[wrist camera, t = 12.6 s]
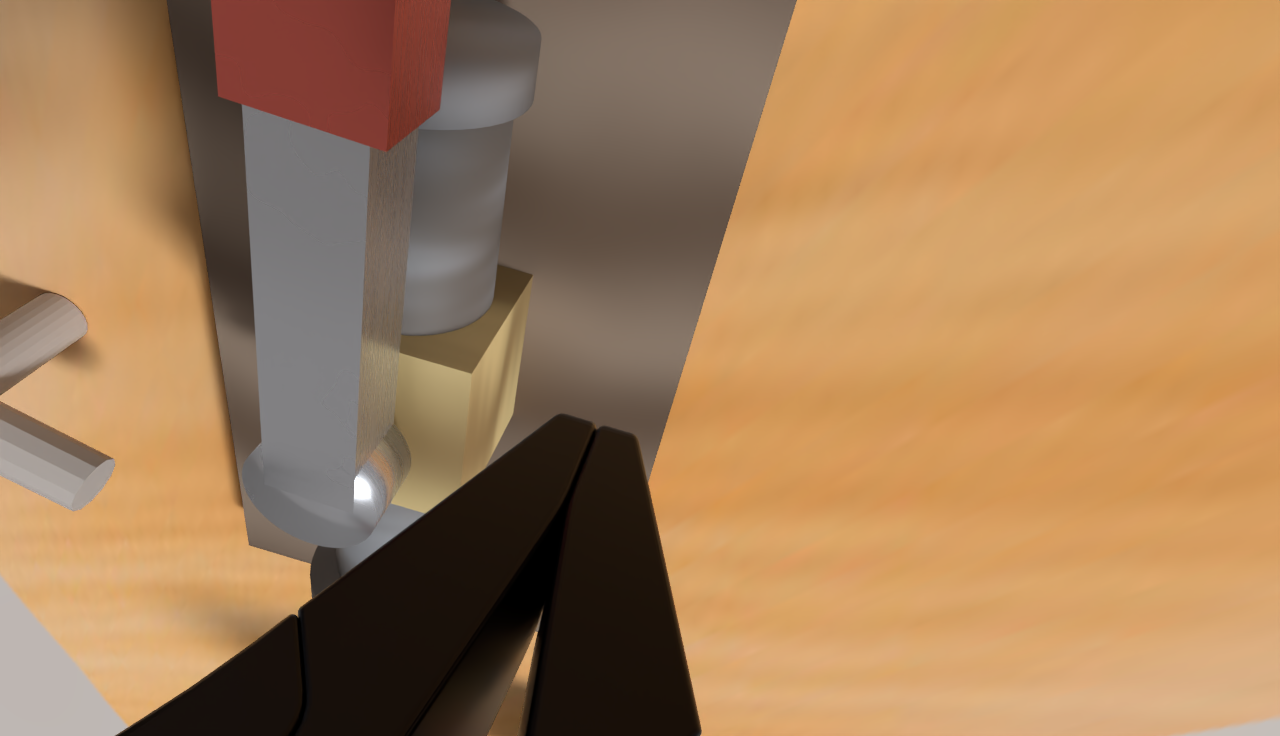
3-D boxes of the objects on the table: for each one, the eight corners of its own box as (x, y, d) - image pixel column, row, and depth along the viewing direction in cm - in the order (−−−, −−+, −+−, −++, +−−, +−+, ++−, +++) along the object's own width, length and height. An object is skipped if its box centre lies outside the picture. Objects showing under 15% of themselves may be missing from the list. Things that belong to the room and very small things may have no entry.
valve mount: (183, -208, 17) (-97, -211, 12) (806, -39, 17) (797, 34, 12) (271, 517, 32) (161, 657, 26) (605, 616, 31) (560, 779, 26)
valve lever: (408, 503, 19) (370, 567, 18) (291, 465, 19) (242, 525, 18) (492, -258, 10) (429, -268, 9) (270, -332, 10) (166, -355, 9)
